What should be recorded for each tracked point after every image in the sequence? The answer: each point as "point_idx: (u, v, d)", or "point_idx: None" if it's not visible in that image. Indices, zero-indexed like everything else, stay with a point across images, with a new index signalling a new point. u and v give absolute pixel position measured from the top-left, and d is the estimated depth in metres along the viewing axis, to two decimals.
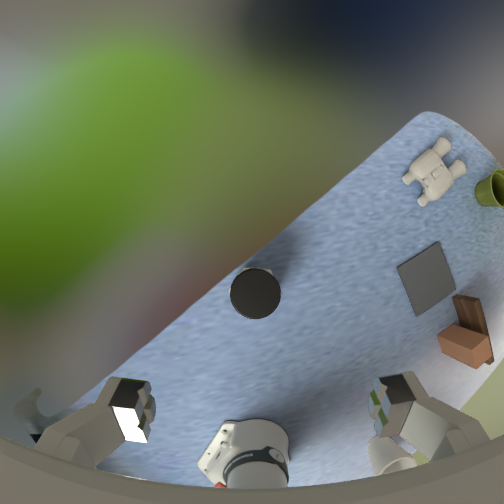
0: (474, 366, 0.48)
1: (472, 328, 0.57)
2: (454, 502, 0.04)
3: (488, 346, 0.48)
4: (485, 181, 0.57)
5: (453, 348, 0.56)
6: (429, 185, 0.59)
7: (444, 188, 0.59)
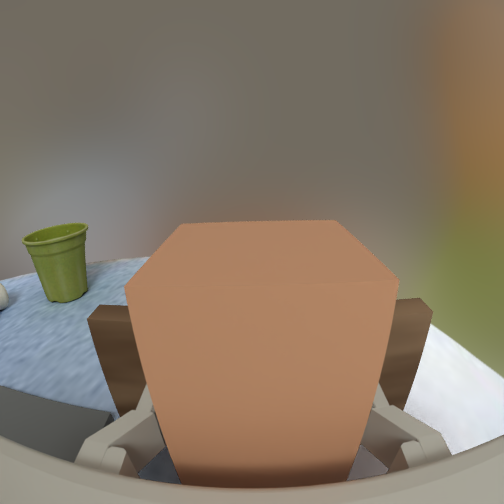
0: (363, 300, 0.06)
1: None
2: (454, 502, 0.04)
3: (247, 225, 0.10)
4: None
5: None
6: None
7: None
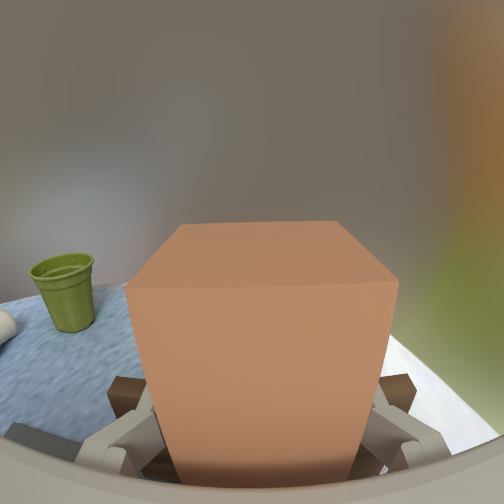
0: (363, 302, 0.06)
1: None
2: (454, 502, 0.04)
3: (247, 226, 0.10)
4: None
5: None
6: None
7: None
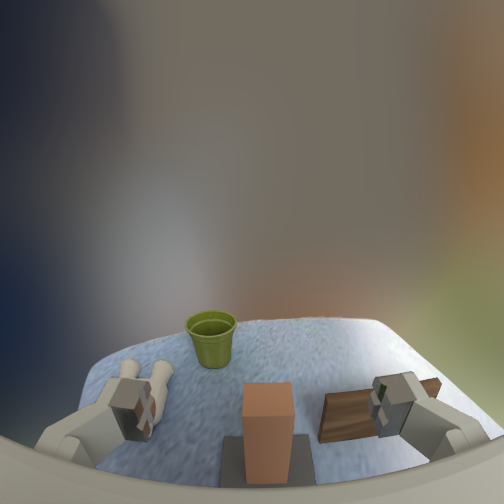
0: (287, 418, 0.27)
1: None
2: (454, 502, 0.04)
3: (263, 386, 0.32)
4: (194, 344, 0.56)
5: (261, 458, 0.30)
6: None
7: (153, 396, 0.44)
